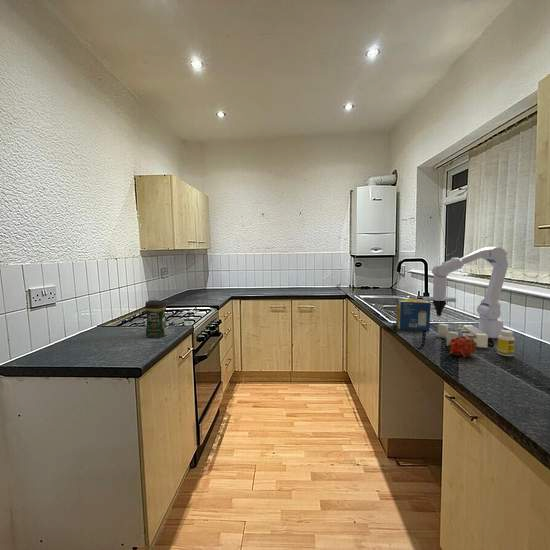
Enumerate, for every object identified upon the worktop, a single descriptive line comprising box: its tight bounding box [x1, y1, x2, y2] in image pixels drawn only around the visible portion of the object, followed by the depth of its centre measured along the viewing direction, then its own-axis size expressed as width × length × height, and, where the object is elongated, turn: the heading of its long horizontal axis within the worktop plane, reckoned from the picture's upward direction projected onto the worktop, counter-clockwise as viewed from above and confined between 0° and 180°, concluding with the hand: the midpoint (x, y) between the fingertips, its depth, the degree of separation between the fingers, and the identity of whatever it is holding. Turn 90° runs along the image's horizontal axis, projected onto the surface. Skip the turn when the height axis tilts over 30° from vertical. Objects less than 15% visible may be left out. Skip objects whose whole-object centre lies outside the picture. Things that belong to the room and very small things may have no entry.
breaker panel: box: [456, 324, 489, 348], centre depth 144 cm, size 7×18×6 cm, turn 166°
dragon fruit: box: [446, 336, 478, 358], centre depth 125 cm, size 8×8×12 cm
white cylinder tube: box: [437, 323, 449, 339], centre depth 152 cm, size 4×4×6 cm
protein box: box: [395, 298, 431, 332], centre depth 168 cm, size 10×15×16 cm
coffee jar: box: [144, 299, 168, 339], centre depth 156 cm, size 10×8×19 cm
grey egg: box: [446, 330, 460, 347], centre depth 138 cm, size 4×4×6 cm
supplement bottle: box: [496, 329, 515, 357], centre depth 126 cm, size 5×5×10 cm
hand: (438, 315), depth 154 cm, fingers closed
